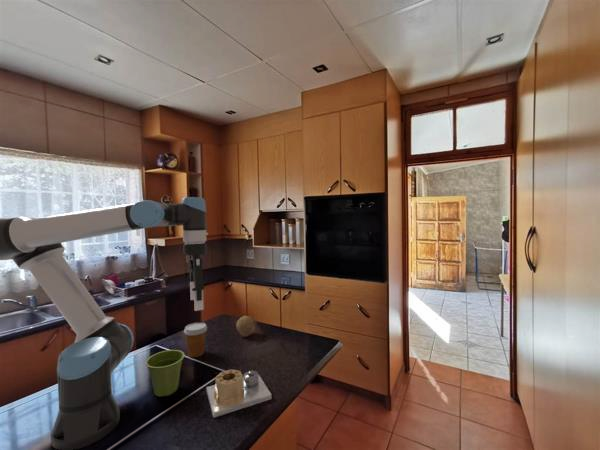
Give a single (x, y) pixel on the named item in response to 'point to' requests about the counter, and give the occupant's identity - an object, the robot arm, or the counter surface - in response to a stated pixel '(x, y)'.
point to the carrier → (252, 395)
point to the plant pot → (165, 371)
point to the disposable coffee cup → (195, 338)
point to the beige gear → (229, 386)
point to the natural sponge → (245, 326)
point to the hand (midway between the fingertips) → (196, 304)
